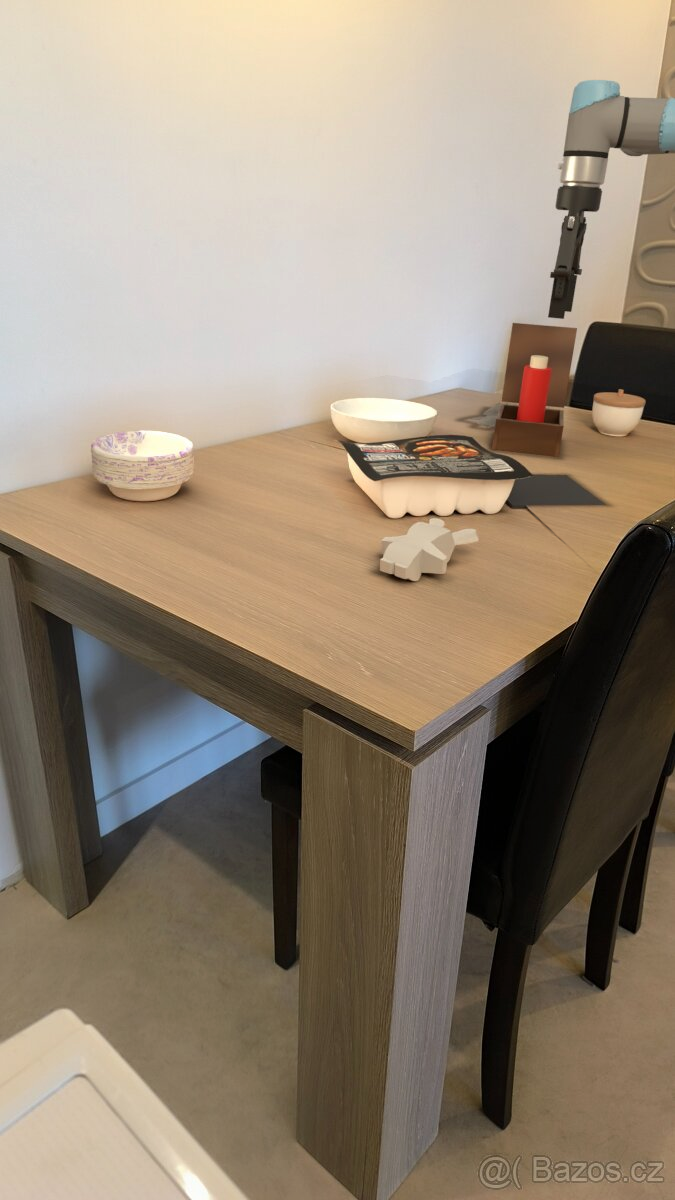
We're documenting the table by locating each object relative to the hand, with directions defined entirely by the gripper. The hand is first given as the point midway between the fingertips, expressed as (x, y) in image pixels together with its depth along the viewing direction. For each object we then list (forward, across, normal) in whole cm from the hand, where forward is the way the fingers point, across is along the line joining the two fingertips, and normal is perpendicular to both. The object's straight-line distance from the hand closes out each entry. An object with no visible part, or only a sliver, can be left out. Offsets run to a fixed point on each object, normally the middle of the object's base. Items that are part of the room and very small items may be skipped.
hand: (560, 314), depth 152 cm
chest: (+26, -1, -3) cm, 26 cm away
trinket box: (+26, -25, +13) cm, 38 cm away
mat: (+26, +27, +4) cm, 38 cm away
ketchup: (+25, -1, -3) cm, 25 cm away
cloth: (+26, -23, -11) cm, 36 cm away
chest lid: (+11, -9, -4) cm, 15 cm away
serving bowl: (+26, +10, -30) cm, 41 cm away
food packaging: (+26, +40, -13) cm, 49 cm away
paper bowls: (+26, +58, -53) cm, 83 cm away
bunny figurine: (+26, +67, -6) cm, 72 cm away
